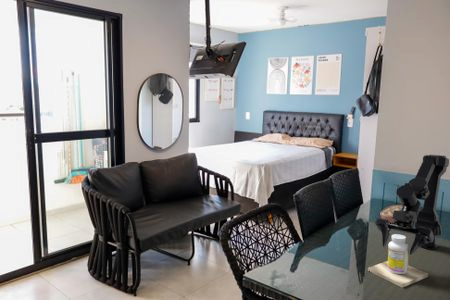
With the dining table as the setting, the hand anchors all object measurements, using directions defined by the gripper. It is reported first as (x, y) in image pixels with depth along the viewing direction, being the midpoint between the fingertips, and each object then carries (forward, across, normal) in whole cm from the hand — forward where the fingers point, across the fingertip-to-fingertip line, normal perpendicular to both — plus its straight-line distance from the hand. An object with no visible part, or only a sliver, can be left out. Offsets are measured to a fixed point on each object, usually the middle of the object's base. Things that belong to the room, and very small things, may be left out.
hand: (396, 250), depth 127 cm
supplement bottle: (+5, 0, +7) cm, 8 cm away
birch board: (+6, 0, +8) cm, 9 cm away
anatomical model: (-36, -24, +50) cm, 66 cm away
